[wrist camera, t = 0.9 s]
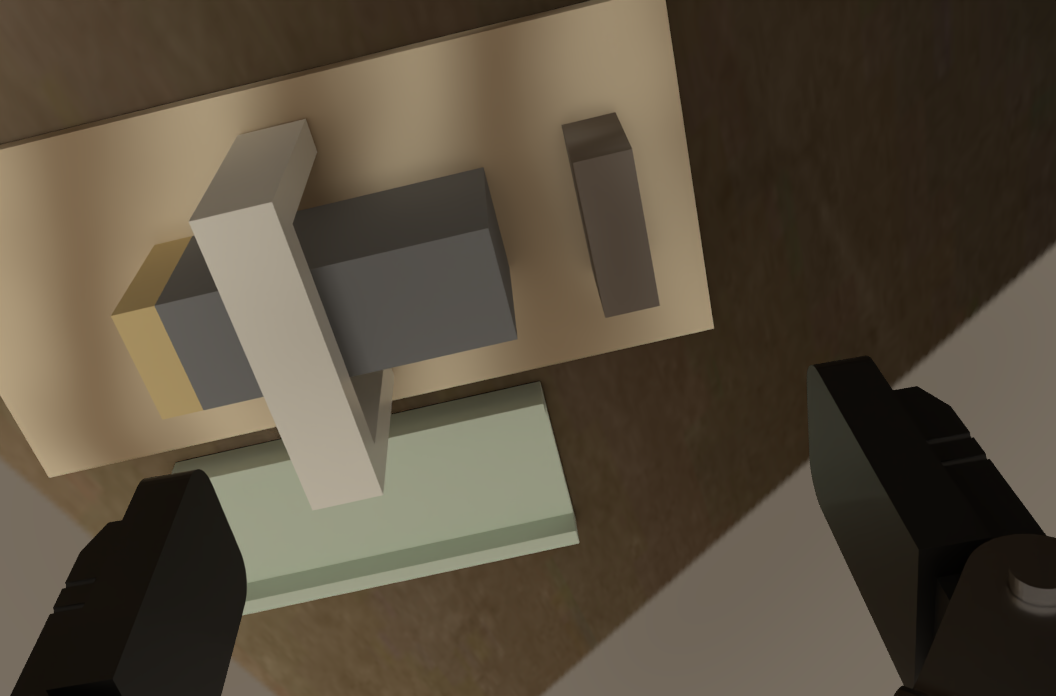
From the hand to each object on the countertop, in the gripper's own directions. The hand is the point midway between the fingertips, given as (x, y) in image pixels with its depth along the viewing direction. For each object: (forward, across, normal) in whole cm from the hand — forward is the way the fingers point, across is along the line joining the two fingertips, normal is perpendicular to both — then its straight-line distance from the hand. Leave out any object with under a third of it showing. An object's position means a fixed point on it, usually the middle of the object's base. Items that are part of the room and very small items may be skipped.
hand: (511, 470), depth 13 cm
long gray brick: (+18, +5, +4) cm, 19 cm away
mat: (+18, +6, +14) cm, 24 cm away
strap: (+18, +6, +4) cm, 20 cm away
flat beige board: (+18, +6, +4) cm, 20 cm away
